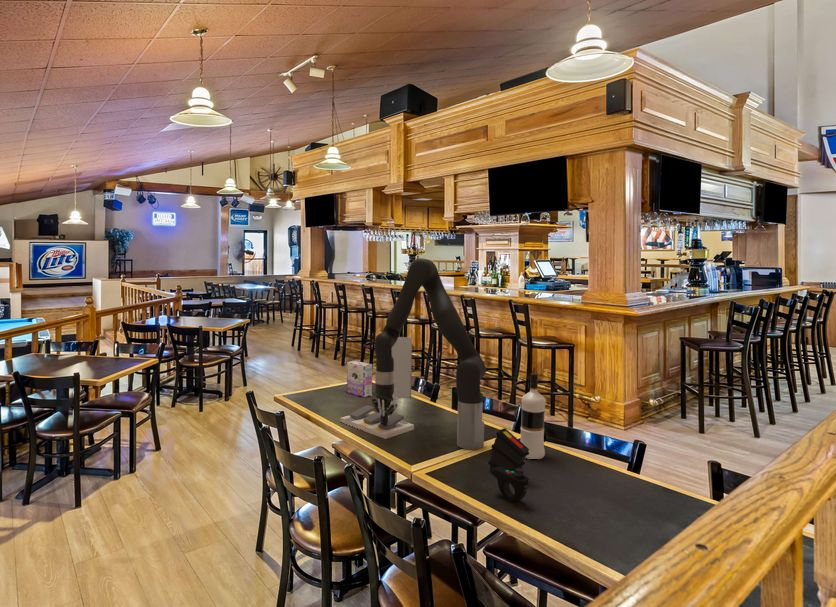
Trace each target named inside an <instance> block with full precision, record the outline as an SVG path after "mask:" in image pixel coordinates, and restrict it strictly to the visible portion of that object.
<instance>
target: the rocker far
mask: <svg viewBox="0 0 836 607" xmlns="http://www.w3.org/2000/svg"><path fill="white" fill-rule="evenodd" d="M372 411H374V412H375V411H376V409H375V407H374V406H372V405H369V404H366V405H364V406H362V407H359V408H358V409H356V410H354V411H352V412H351V413H349V415H350V417H352V418H355V419H359V418H361V417H363V416H365V415H366V414H368V413H370V412H372ZM349 415H348V416H349Z"/></svg>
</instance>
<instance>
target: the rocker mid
mask: <svg viewBox="0 0 836 607" xmlns="http://www.w3.org/2000/svg"><path fill="white" fill-rule="evenodd" d="M374 412H375V413H373V414H371V415H369V416H368V417H366V418H364V419H363V421H364V422H366V423H369V424H373V423H375V422H377V421H378V420H380V419H381V415H380V413H377V411H374Z"/></svg>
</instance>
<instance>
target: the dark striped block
mask: <svg viewBox="0 0 836 607" xmlns="http://www.w3.org/2000/svg"><path fill="white" fill-rule="evenodd" d="M495 435H496V437H495V439H494V442H493V443H492V444H491V447H490V448H491V452H490V460H488V465H489V472H490V471H491V472H492V470H493V468H495V467H498V466H501V467H504V468H506V469H508V470H511V471H514V472H516V473H517V471H516V469H517V468H521V469H523V465H524V466H525V464H526V462H525V459H526V458H525V457H526V456H527V455H529V452H528V451H529V449H528V448H527V447H526V446H525V445H524V444H523V443H522V442H520V439H518V438H517V437H515V435H514V434H513V433H511V432H510V431H509V429H507V428H505V427H504V428H500V429H499V431H496V432H495ZM521 473H522V474H523V475H524V471H523V472H521Z"/></svg>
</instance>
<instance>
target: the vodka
mask: <svg viewBox="0 0 836 607" xmlns="http://www.w3.org/2000/svg"><path fill="white" fill-rule="evenodd" d="M529 381H530V382H529V383H530V385H529V386H530V387H529V392H527V393H525V394H524V395H523V396H522V397H521V406H520V408H521V419H520V420H521V421H520V422H521V423H520V439H519V441H520V442H522V443H523V444H524V445H525V446H526V447H527V448H528V449H529V451H528V452H529V455H527V456H526V457H525V459H526V458H527V460H530V459H538V460H541V459H543V458H544V457H545V455H546V449H545V443H544V442H545V441H544V440H545V439H544V436H545V411H546V399H545V397H544V395H542V394H541V393H540V392H538V385H539V384H538V383H539V374H538V373H533V372H532V373H530V380H529Z"/></svg>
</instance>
